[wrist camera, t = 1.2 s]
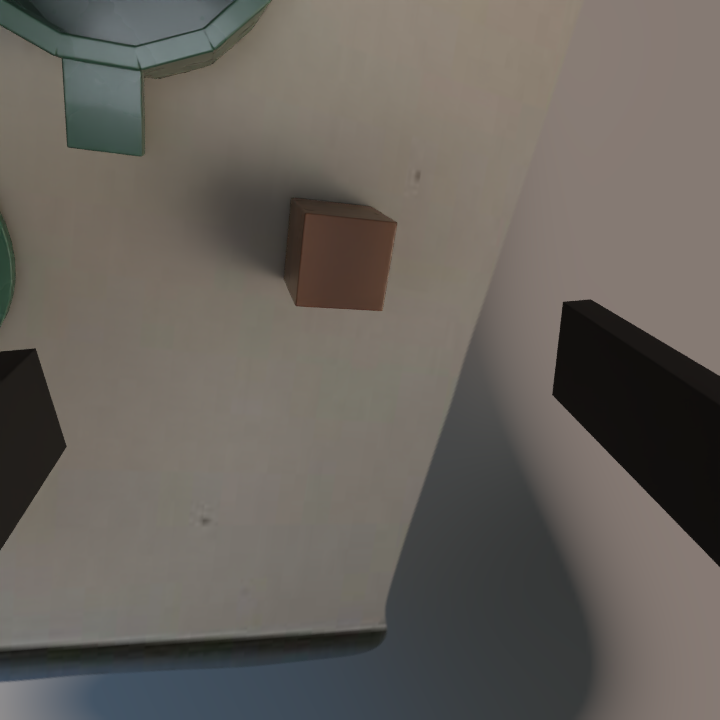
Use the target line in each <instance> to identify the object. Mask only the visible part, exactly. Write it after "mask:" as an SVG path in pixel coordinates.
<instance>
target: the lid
mask: <svg viewBox="0 0 720 720" xmlns="http://www.w3.org/2000/svg"><path fill="white" fill-rule="evenodd" d="M14 286H15V258H14V252H13V247H12V241H11V238H10V235H9V232H8V229H7V226H6V223H5V221H4V219H3V217H2V215H1V213H0V327H1V325H2V323H3V321H4V319H5V317H6V315H7V313H8V311H9V308H10V304H11V301H12V298H13V293H14Z"/></svg>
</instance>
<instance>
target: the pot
mask: <svg viewBox="0 0 720 720" xmlns="http://www.w3.org/2000/svg"><path fill="white" fill-rule="evenodd" d="M271 1H272V0H0V25H1V26H2V27H4V28H6V29H8V30H9V31H11V32H13V33H15V34H16V35H18V36H20V37H22V38H23V39H25V40H27V41H29V42H30V43H32V44H34V45H36V46H38V47H39V48H41V49H43V50H45V51H46V52H48V53H50V54H52V55H53V56H57V57H59V58H62V70H63V86H64V102H65V118H66V134H67V146H68V147H69V148H77V149H85V150H93V151H101V152H109V153H117V154H125V155H133V156H143V155H144V154H145V108H144V77H148V78H154V79H161V78H165V77H169V76H172V75H176V74H180V73H186V72H188V71H191V70H195V69H198V68H202V67H206V66H209V65H211V64H213V63H214V62H215V61H217V60H218V59H219V58H220V57H221V56H222V55H223V54H225V53H226V52H227V51H228V50H229V49H231V48H232V47H233V46H234V45H235V44H236V43H237V42H238V41H239V40H241V39H242V38H243V37H244V36H245V35H246V34H247V33H249V32H250V31H251V30H252V28H253V27H254V26H255V24H256V23H257V21H258V20H259V18H260V17H261V15H262V14H263V12H264V11H265V9H266V8H267V7H268V5H269V4H270V2H271Z"/></svg>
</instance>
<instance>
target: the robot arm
mask: <svg viewBox="0 0 720 720" xmlns="http://www.w3.org/2000/svg"><path fill="white" fill-rule="evenodd" d="M552 395H553V396H554V397H555V398H556V399H557V400H558V401H559V402H560V403H561V404H562V405H563V406H564V407H565V408H566V409H567V410H568V412H569V413H571V415H572V416H573V417H574V418H575V419H576V420H577V421H578V422H579V423H580V424H581V425H582V426H583V427H584V428H585V429H586V430H587V431H588V432H589V433H590V434H591V435H592V436H593V437H594V438H595V439H596V440H597V441H598V442H599V443H600V444H601V445H602V446H603V447H604V448H605V449H606V451H608V453H609V454H610V455H611V456H612V457H613V458H614V459H615V460H616V461H617V462H618V463H619V464H620V465H621V466H622V467H623V468H624V469H625V470H626V471H627V472H628V473H629V474H630V475H631V476H632V477H633V478H634V479H635V480H636V481H637V482H638V483H639V484H640V485H641V487H643V489H645V490H646V491H647V493H648V494H649V495H650V496H651V497H652V498H653V499H654V500H655V501H656V502H657V503H658V504H659V505H660V506H661V507H662V508H663V509H664V510H665V511H666V512H667V513H668V514H669V515H670V516H671V517H672V518H673V519H674V520H675V521H676V522H677V523H678V525H680V527H681V528H682V529H683V530H684V531H685V532H686V533H687V534H688V535H689V536H690V537H691V538H692V539H693V540H694V541H695V542H696V543H697V544H698V545H699V546H700V547H701V548H702V549H703V550H704V551H705V552H706V553H707V554H708V555H709V556H710V557H711V558H712V559H713V560H714V561H715V562H716V564H718V566H719V567H720V376H719V375H717V374H715V373H714V372H712V371H710V370H709V369H707V368H705V367H704V366H702V365H700V364H698V363H697V362H695V361H693V360H692V359H690V358H688V357H687V356H685V355H683V354H682V353H680V352H678V351H677V350H675V349H673V348H672V347H670V346H668V345H667V344H665V343H663V342H661V341H660V340H658V339H656V338H655V337H653V336H651V335H650V334H648V333H646V332H645V331H643V330H641V329H640V328H638V327H636V326H635V325H633V324H631V323H629V322H628V321H626V320H624V319H623V318H621V317H619V316H618V315H616V314H614V313H613V312H611V311H609V310H608V309H606V308H604V307H603V306H601V305H599V304H598V303H596V302H594V301H592V300H579V301H569V302H563V307H562V317H561V324H560V333H559V342H558V350H557V359H556V368H555V376H554V385H553V394H552ZM66 447H67V446H66V443H65V440H64V437H63V434H62V431H61V427H60V424H59V421H58V418H57V415H56V412H55V408H54V405H53V402H52V399H51V396H50V392H49V389H48V386H47V383H46V380H45V377H44V373H43V370H42V367H41V364H40V361H39V358H38V354H37V351H36V348H35V349H24V350H13V351H1V352H0V550H1V548H2V547H3V545H4V544H5V542H6V541H7V539H8V538H9V536H10V534H11V533H12V531H13V530H14V528H15V527H16V525H17V523H18V522H19V520H20V519H21V517H22V516H23V514H24V512H25V511H26V509H27V508H28V506H29V505H30V503H31V502H32V500H33V498H34V497H35V495H36V494H37V492H38V491H39V489H40V487H41V486H42V484H43V483H44V481H45V480H46V478H47V477H48V475H49V473H50V472H51V470H52V469H53V467H54V466H55V464H56V462H57V461H58V459H59V458H60V456H61V455H62V453H63V451H64V450H65V448H66Z"/></svg>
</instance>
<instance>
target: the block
mask: <svg viewBox="0 0 720 720" xmlns="http://www.w3.org/2000/svg"><path fill="white" fill-rule="evenodd" d="M396 227H397V222H395V221H393V220H392V219H390V218H389V217H387V216H386V215H384V214H382V213H381V212H379V211H378V210H376V209H374V208H373V207H370V206H361V205H353V204H344V203H335V202H326V201H317V200H308V199H299V198H291V205H290V216H289V227H288V238H287V249H286V260H285V271H284V281H285V283H286V285H287V288H288V290H289V292H290V294H291V297H292V299H293V301H294V303H295V305H296V306H302V307H320V308H338V309H356V310H373V311H382V310H383V305H384V299H385V293H386V287H387V281H388V275H389V269H390V263H391V257H392V251H393V245H394V239H395V233H396Z"/></svg>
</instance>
